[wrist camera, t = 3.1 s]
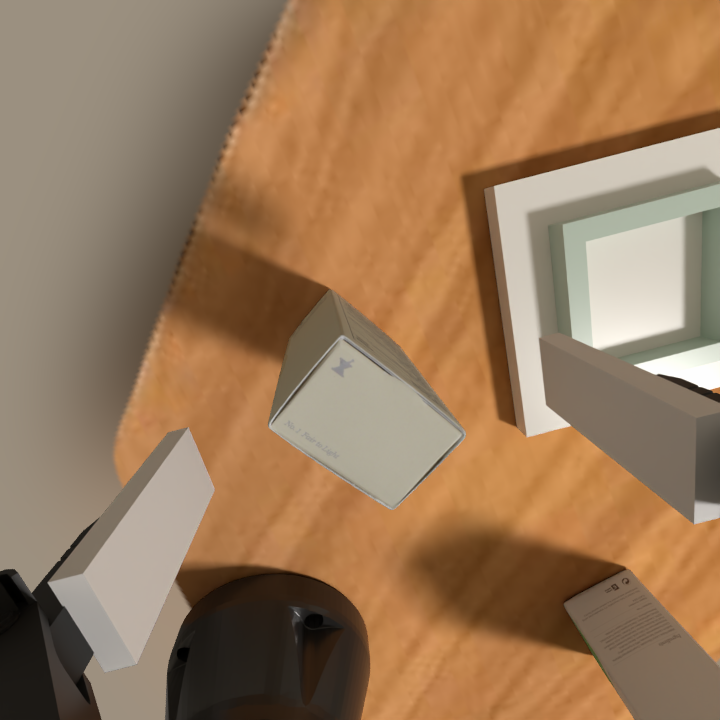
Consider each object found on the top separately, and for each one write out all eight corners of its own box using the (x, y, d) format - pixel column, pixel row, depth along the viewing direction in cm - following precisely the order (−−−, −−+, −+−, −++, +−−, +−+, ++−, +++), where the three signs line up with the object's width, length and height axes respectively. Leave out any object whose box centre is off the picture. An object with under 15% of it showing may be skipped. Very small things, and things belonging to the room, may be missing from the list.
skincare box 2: (559, 599, 34) (743, 885, 19) (632, 562, 33) (880, 826, 18) (594, 659, 36) (781, 953, 21) (662, 625, 36) (902, 903, 21)
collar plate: (516, 427, 29) (538, 448, 26) (483, 189, 24) (505, 182, 21) (735, 370, 29) (780, 385, 26) (746, 121, 24) (804, 105, 21)
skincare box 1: (287, 339, 25) (254, 425, 14) (332, 284, 25) (338, 327, 13) (362, 397, 27) (390, 518, 15) (407, 347, 26) (471, 435, 15)
